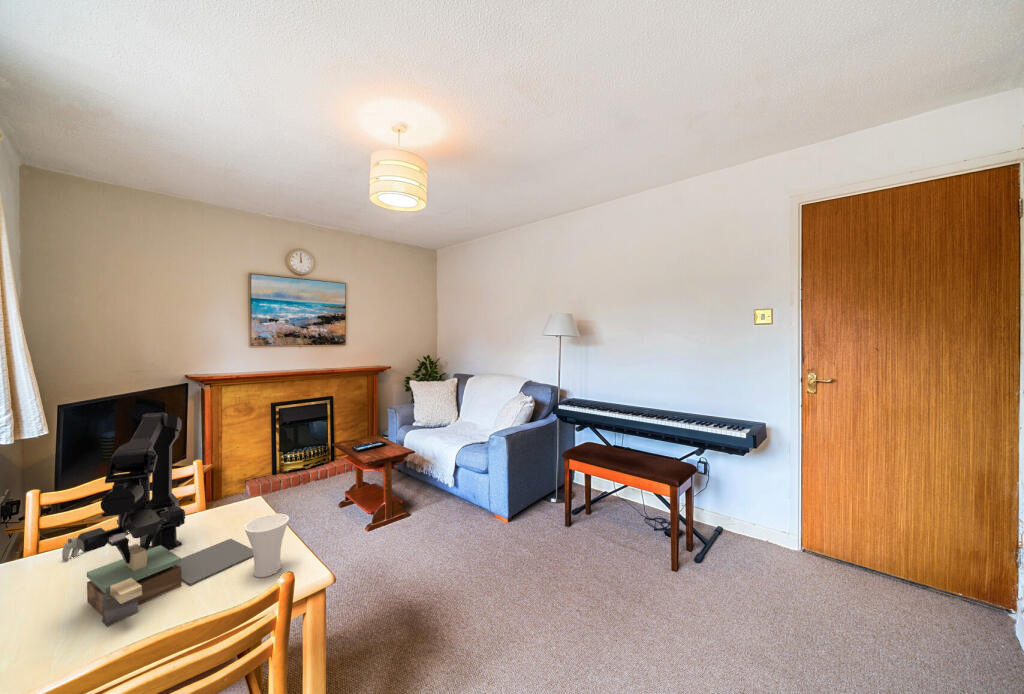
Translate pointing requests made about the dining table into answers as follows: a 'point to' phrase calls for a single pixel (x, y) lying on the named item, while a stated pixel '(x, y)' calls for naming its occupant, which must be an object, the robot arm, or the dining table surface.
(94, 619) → the dining table surface
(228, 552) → the mat
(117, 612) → the toolbox
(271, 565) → the cup
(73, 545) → the caliper
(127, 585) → the wooden block
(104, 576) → the lid
